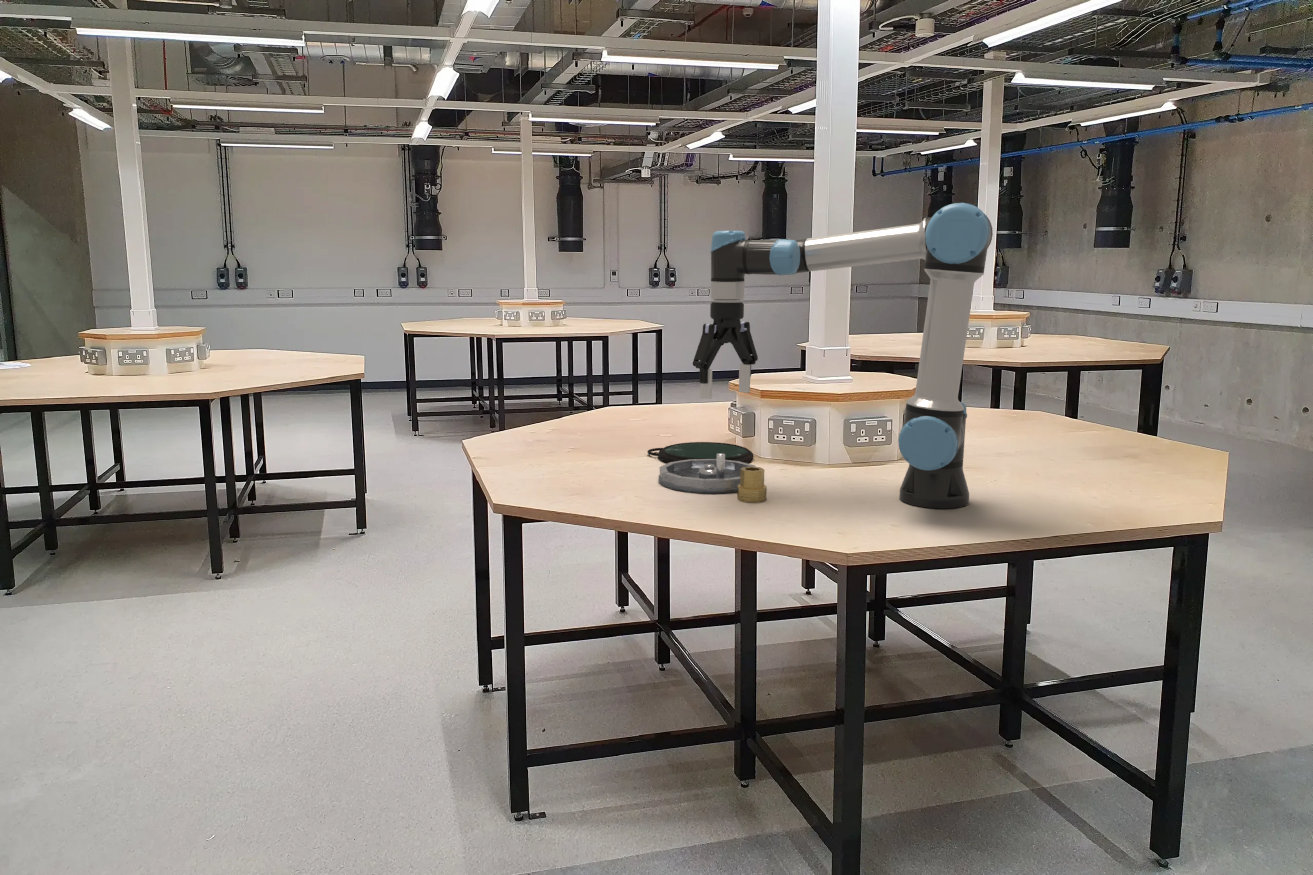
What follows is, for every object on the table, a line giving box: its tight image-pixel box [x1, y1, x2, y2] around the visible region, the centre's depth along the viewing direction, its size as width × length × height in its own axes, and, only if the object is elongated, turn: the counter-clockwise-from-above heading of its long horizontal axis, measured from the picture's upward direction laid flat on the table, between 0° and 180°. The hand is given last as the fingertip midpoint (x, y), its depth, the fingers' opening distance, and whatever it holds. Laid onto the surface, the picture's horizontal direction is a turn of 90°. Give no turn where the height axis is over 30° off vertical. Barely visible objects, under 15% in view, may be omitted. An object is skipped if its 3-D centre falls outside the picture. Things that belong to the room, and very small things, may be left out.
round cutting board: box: [647, 441, 754, 464], centre depth 256 cm, size 26×3×30 cm
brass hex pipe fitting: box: [736, 466, 768, 503], centre depth 210 cm, size 6×6×7 cm
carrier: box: [658, 453, 757, 495], centre depth 227 cm, size 25×25×8 cm
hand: (725, 395), depth 211 cm, fingers open, 13 cm apart
